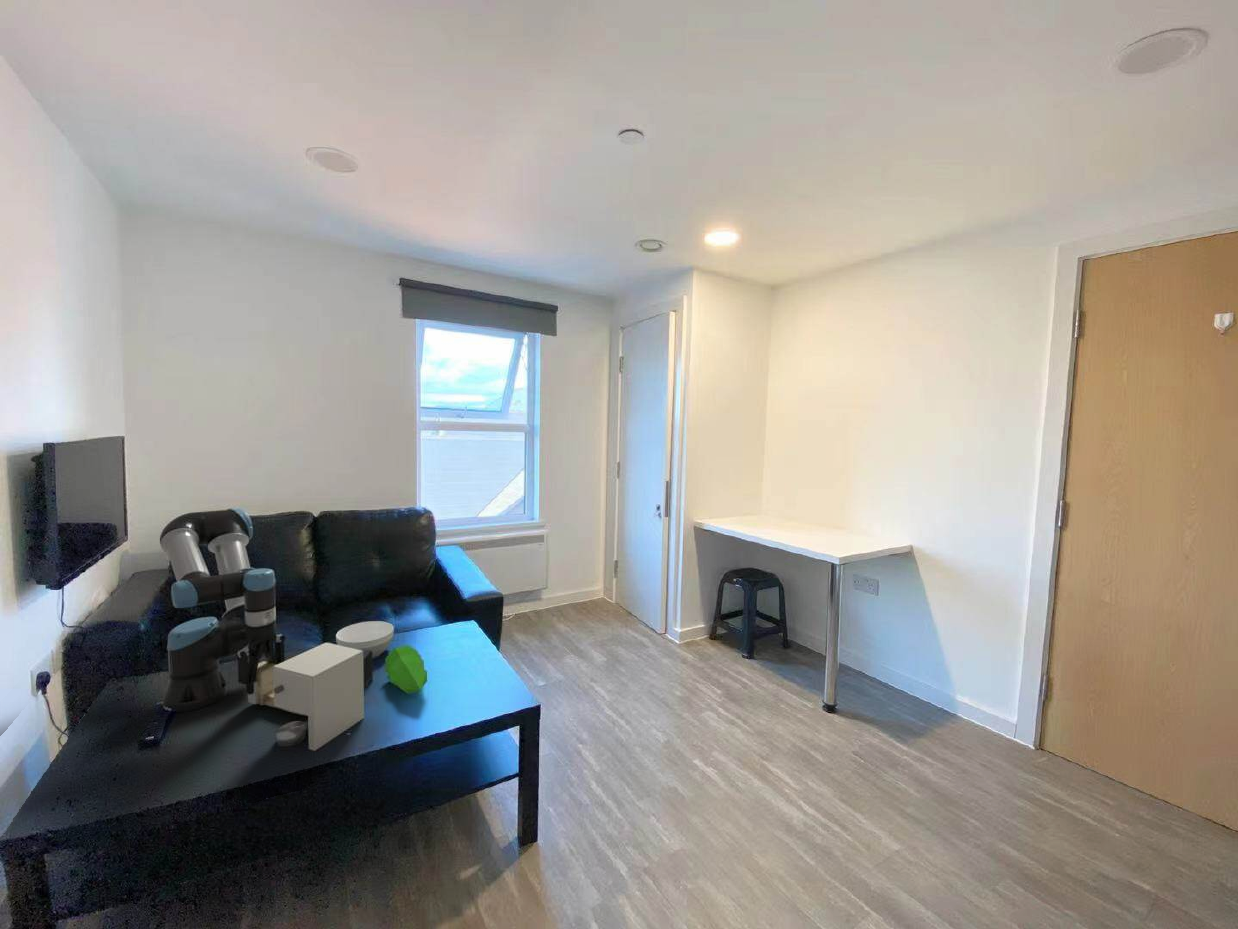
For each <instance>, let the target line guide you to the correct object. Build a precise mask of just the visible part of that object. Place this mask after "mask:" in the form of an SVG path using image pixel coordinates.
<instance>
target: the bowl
mask: <svg viewBox="0 0 1238 929" xmlns="http://www.w3.org/2000/svg"><path fill="white" fill-rule="evenodd" d="M393 637H394V626H393V624H392V623H389V622H386V621H379V620H378V621H377V620H376V621H375V620H374V621H373V620H371V621H361V622H358V623H357V622H356V623H354V624H349V625H348V626H345V627H342V628H341V629H339V630H338V631H337V633H336V634H335V641H336V645H339V646H344V647H348V648H353V649H357V650H372V658H374V657H376V656H378V657H380V656H381V655H380V654H382V653H384V652H385V651H386V650H387V649H388V647H389V646H390V644H391V643H392V641H393ZM376 658H377V657H376ZM374 659H375V658H374Z"/></svg>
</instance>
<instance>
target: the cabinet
mask: <svg viewBox="0 0 1238 929" xmlns="http://www.w3.org/2000/svg"><path fill="white" fill-rule="evenodd" d="M273 667H274V669H273V693H274V706H276V707H279V708H283V709H286V710H290V711H293V712H296V713H300V714H303V715H302V716H307V717H308V718H307V721H308V728H307V729H308V730H307V731H308V750H311V751H314V752H315V751H317V750H318V749H320V748H321V747H323V746H324V745H326V744H327V743H329V742H330V741H332V740H334V739H335V738H336V737H338V736H339V735H340V734H342V733H344V732H345V731H347V730H348V729H351V727H353V726H354V725H355V724H358V722H360V721H362V720H363V719H365V695H364V694H365V693H364V692H365V689H364V676H363V651H362V650H357V649H353V648H348V647H344V646H339V645H337V644H335V643H331V642H323V643H322V644H320V645H318V646H315V647H313V648H311V649H308V650H306V651H304V652H302V653H300V654H297V655H295V656H293V657H291V658H288V659H287V660H285V661H284V662H282V663H280V664H278V665H275V666H273ZM296 713H295V714H296Z"/></svg>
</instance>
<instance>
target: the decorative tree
mask: <svg viewBox="0 0 1238 929" xmlns="http://www.w3.org/2000/svg"><path fill="white" fill-rule="evenodd" d="M384 660H385V662H384V665H385V666H384V668H385V670H384V671H385V673H387V677H388V678H389V682H390V683H392V684H393V685H394V686H396V687H397V688H398V689H400V690H402V691H403V692H405V693H406V694H408V695H409V694H413V693H418V692H420V691H422V690H421V689H422V688H423V687H424V686H425V684H427V683H428V671H427V670H426V669H425V664H424V662H425V661H424V659H422V655H420V654H419V651H418V650H417V649H415V648H413V646H411V645H410V644H408V645H402V646H397V647H394V649H392V651H391V652H390V653H389V654H388V655H387V656H386V657H385V659H384Z"/></svg>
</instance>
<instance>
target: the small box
mask: <svg viewBox="0 0 1238 929" xmlns="http://www.w3.org/2000/svg"><path fill="white" fill-rule="evenodd" d="M362 651H363V676H364V690H365V689H366V688H367V687H368V686H369V685H370V684H371V683H372V681H373V680H374V679H373V659H372V650H362Z"/></svg>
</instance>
